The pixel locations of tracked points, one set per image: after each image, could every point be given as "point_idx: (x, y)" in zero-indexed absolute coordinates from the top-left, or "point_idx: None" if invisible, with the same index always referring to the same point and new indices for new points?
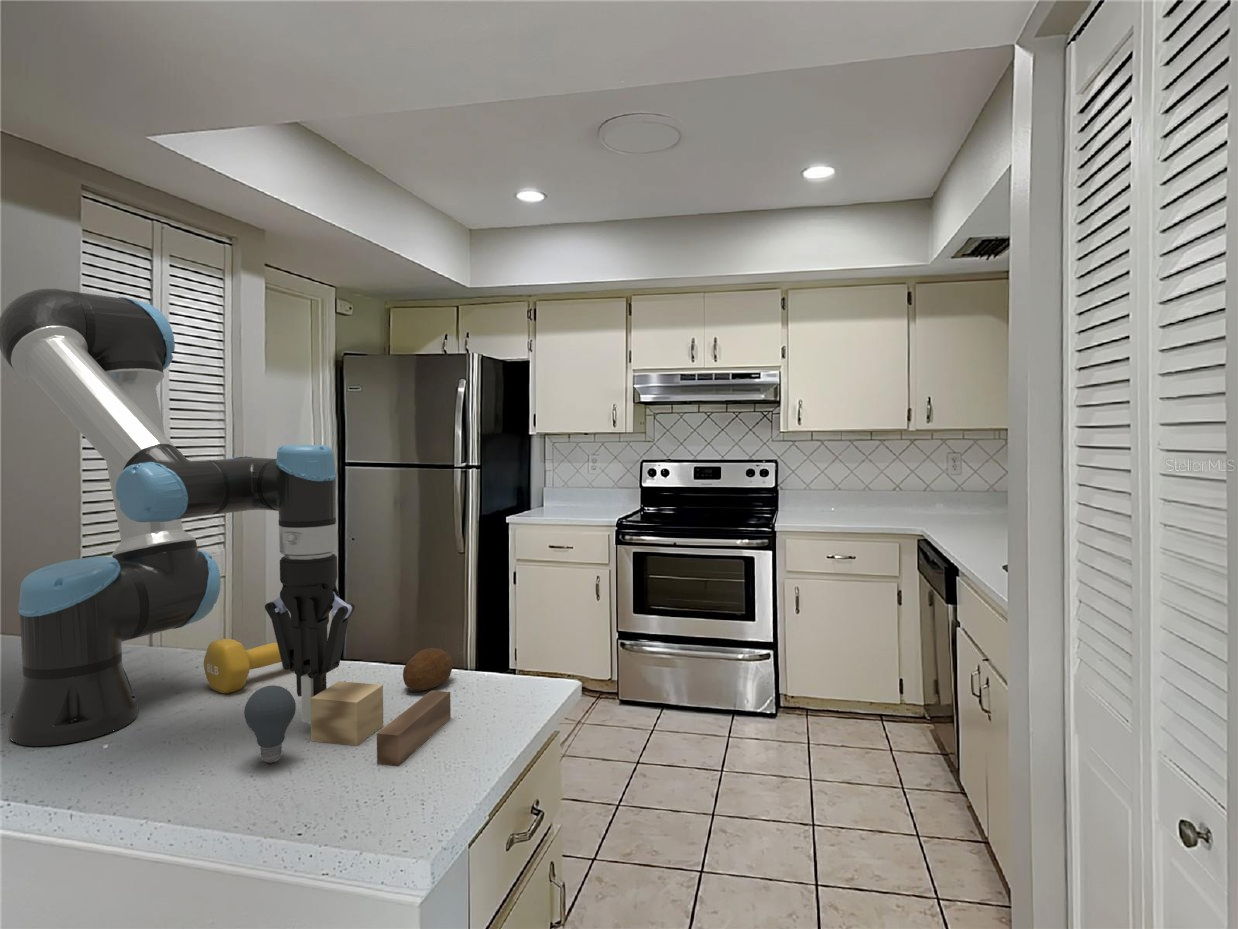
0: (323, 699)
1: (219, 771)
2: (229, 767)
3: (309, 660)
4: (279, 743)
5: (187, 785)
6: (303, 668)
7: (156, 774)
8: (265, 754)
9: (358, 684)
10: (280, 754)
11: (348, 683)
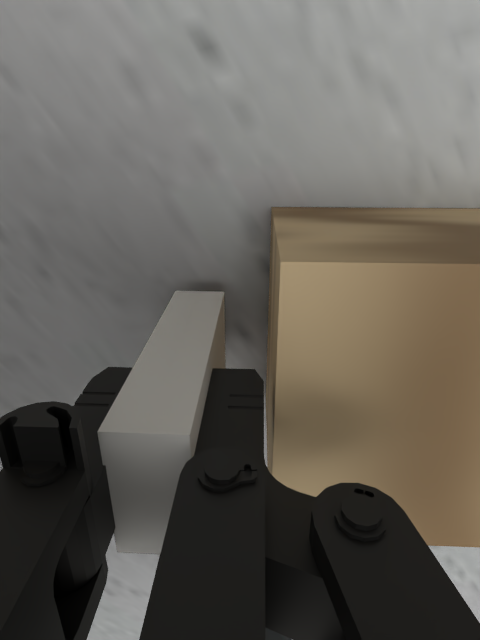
0: None
1: (138, 580)
2: (145, 563)
3: (57, 557)
4: None
5: (123, 631)
6: (94, 582)
7: None
8: None
9: (472, 295)
10: None
11: (381, 291)
